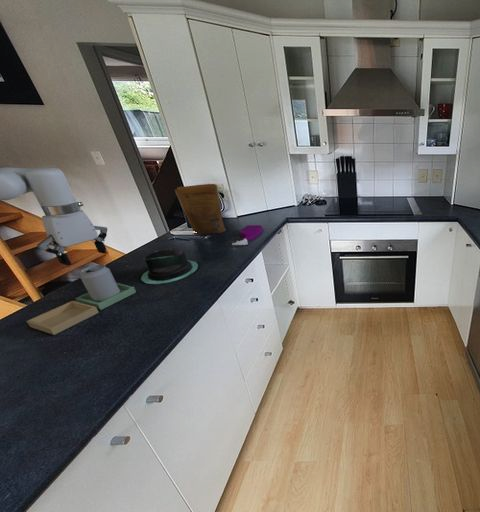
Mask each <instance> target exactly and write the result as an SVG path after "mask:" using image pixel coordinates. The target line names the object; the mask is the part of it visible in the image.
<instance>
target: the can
mask: <svg viewBox="0 0 480 512" xmlns="http://www.w3.org/2000/svg"><path fill="white" fill-rule="evenodd" d="M79 272H80V275H79V278H80V280H81V282H82V283H83V285H84V287H85V289H86V291H87V293H89V294H90V296H91V298H92V300H94V301H98V302H102V301H104V300H106V299H108V298H110V297H112V296H114V295H116V294H118V293H120V290H119V288H118V286H117V284H116V283H117V282H116V280H115V277H114V275H113V273H112V271H111V269H110V268H109V267H106V265H105V264H95V265H94V264H93V265H90V266H88V267H87V266H86V267H85V268H83V269H81V270H80V271H79Z"/></svg>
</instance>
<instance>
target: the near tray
mask: <svg viewBox="0 0 480 512" xmlns="http://www.w3.org/2000/svg"><path fill="white" fill-rule="evenodd" d="M97 314H100V312H99V309H97V308H96V307H94V306H91V305H87V304H84V303H80V302H77V300H71V301H69V302H66V303H65V304H62V305H60V306H58V307H55V308H53V309H50V310H48V311H46V312H44V313H41V314H39V315H37V316H34V317H32V318H30V319H27V320H26V323H27V324H28V326H29V327H30V328H33V329H35V330H38V331H41V332H44V333H47V334H50V335H52V336H55V335H57V334H59V333H62V332H63V331H66V330H67V329H69V328H71V327H73V326H76V325H78V324H79V323H81V322H84V321H85V320H88V319H89V318H91V317H93V316H95V315H97Z"/></svg>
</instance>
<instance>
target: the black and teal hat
mask: <svg viewBox="0 0 480 512" xmlns="http://www.w3.org/2000/svg"><path fill="white" fill-rule="evenodd" d="M143 260H144V262H145V264H146V267H147V269H148V270H146V271H145V272H144V273H143V274H142V275H141V277H140V280H141V281H142V282H143V283H145V284H147V285H149V284H150V285H162V284H168V283H172V282H176V281H180V280H182V279H185V278H187V277H188V276H191V275H192V274H194V273H195V272H196V271H197V270H198V268H199V263H197V262H196V261H195V260H189V259H187V257H186V253H185V251H184V250H181V249H175V248H169V249H166V248H165V249H164V250H156V251H154V252H152V253H151V252H150V253H149V254H148V255H147V256H145V257H143Z"/></svg>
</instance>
